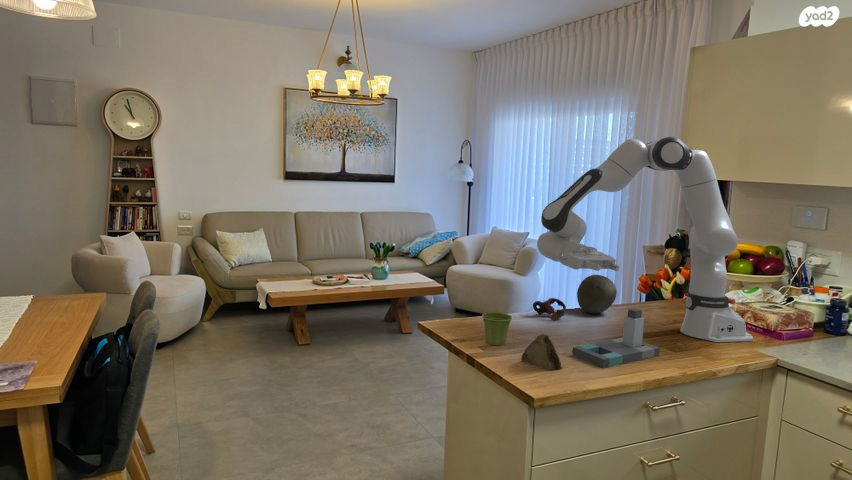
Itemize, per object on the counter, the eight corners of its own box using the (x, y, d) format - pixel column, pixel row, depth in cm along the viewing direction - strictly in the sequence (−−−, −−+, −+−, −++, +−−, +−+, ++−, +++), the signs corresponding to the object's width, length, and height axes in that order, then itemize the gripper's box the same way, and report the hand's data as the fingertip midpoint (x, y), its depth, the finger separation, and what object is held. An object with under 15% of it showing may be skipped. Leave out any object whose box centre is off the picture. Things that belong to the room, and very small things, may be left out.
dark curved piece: (557, 314, 217) (566, 299, 212) (560, 331, 209) (569, 316, 204) (528, 306, 216) (536, 290, 211) (529, 323, 208) (538, 307, 203)
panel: (626, 344, 181) (627, 336, 181) (658, 355, 171) (659, 347, 170) (572, 355, 169) (572, 347, 168) (603, 368, 159) (604, 359, 158)
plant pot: (514, 341, 180) (516, 315, 179) (504, 349, 172) (505, 321, 171) (487, 336, 184) (488, 310, 183) (476, 344, 176) (477, 317, 175)
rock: (510, 353, 161) (530, 360, 152) (525, 328, 163) (545, 333, 154) (536, 373, 165) (557, 380, 155) (550, 348, 167) (572, 354, 157)
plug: (630, 349, 176) (634, 307, 174) (641, 353, 173) (644, 310, 171) (621, 351, 174) (625, 308, 172) (632, 355, 171) (636, 311, 169)
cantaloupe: (588, 319, 210) (591, 279, 208) (569, 309, 223) (571, 272, 221) (621, 317, 214) (624, 278, 212) (600, 308, 227) (603, 271, 225)
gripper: (557, 245, 185) (589, 258, 174) (596, 247, 197) (630, 259, 186) (552, 264, 186) (585, 277, 175) (592, 265, 198) (625, 277, 187)
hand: (608, 268), depth 181 cm, fingers open, 8 cm apart
